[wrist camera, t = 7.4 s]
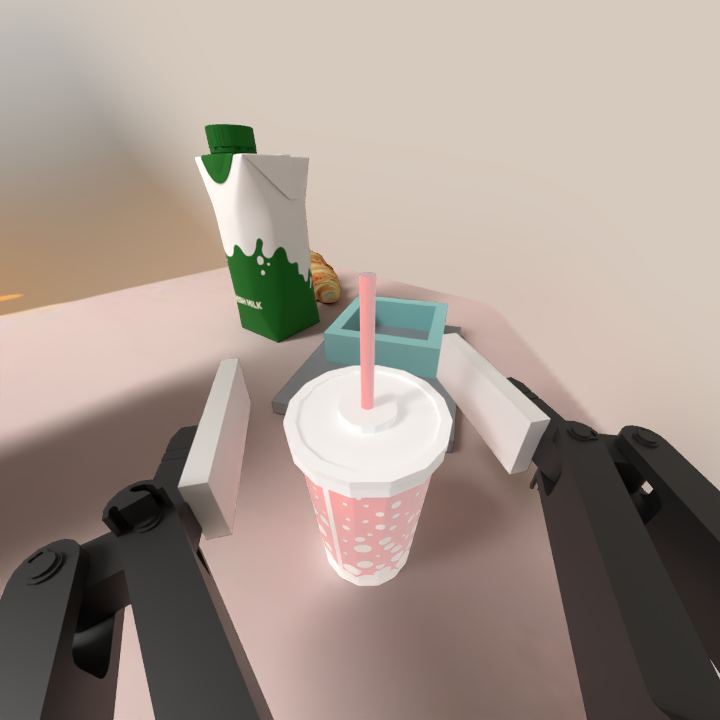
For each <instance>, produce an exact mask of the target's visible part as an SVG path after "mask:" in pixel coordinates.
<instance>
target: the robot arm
mask: <svg viewBox="0 0 720 720" xmlns="http://www.w3.org/2000/svg"><path fill="white" fill-rule="evenodd" d="M436 378H437V379H438V380H439V381H440V383H441V384H442V385H443V387H444V388H445V389H446V391H447V392H448V393H449V395H450V396H451V397H452V399H453V400H454V401H455V403H456V404H457V405H458V407H459V408H460V409H461V411H462V412H463V413H464V415H465V416H466V417H467V419H468V420H469V421H470V423H471V424H472V425H473V427H474V428H475V429H476V430H477V432H478V433H479V434H480V436H481V437H482V438H483V440H484V441H485V442H486V444H487V445H488V446H489V448H490V449H491V450H492V452H493V453H494V454H495V456H496V457H497V458H498V460H499V461H500V462H501V464H502V465H503V466H504V468H505V469H506V470H507V472H508V473H509V474H514V473H518V472H523V471H527V469H528V467H529V465H530V463H531V461H533V462H534V463H535V464H536V465H537V466H538V469H537V471H536V473H535V475H534V477H533V479H532V481H531V483H530V489H533V488H534V486H535V484H536V482H537V484H538V490H539V493H540V498H541V503H542V507H543V512H544V517H545V522H546V526H547V531H548V536H549V540H550V545H551V550H552V555H553V559H554V564H555V569H556V574H557V578H558V583H559V588H560V593H561V597H562V602H563V607H564V612H565V616H566V621H567V626H568V631H569V635H570V640H571V645H572V649H573V654H574V659H575V664H576V668H577V673H578V678H579V683H580V687H581V692H582V697H583V702H584V706H585V711H586V716H587V720H720V679H719V677H718V675H717V673H716V671H715V669H714V667H713V665H712V663H711V661H712V662H713V664H714V665H715V667H716V668H717V670H718V671H719V673H720V491H719V490H718V489H717V488H716V487H715V486H713V484H712V483H710V482H709V481H708V480H707V479H706V478H705V477H704V476H703V475H702V474H701V473H700V472H699V471H698V470H697V469H696V468H695V467H694V466H693V465H691V464H690V463H689V462H688V461H687V460H686V459H685V458H684V457H683V456H682V455H681V454H680V453H679V452H678V451H677V450H676V449H674V447H673V446H671V445H670V444H669V443H668V442H667V441H666V440H665V439H664V438H662V437H661V436H660V435H658V434H656V433H655V432H653V431H651V430H649V429H645V428H642V427H639V426H633V425H632V426H625V427H624V428H622V429H621V431H620V433H619V434H618V435H607V434H598V433H597V432H596V431H595V430H593V429H592V428H591V427H589V426H587V425H585V424H582V423H579V422H575V421H566V420H564V419H563V418H562V417H561V416H560V415H559V414H557V413H556V412H555V411H554V410H553V409H552V408H551V407H549V406H548V405H547V404H546V403H545V402H544V401H543V400H541V399H539V398H538V396H537V395H536V394H534V393H533V392H531V390H530V389H529V388H528V387H526V386H525V385H524V384H523V383H521V382H519V381H517V380H515V379H513V378H512V377H510V378H505V377H504V376H503V375H502V374H501V373H500V372H499V371H498V370H497V369H495V368H494V367H493V366H492V365H491V364H490V363H489V362H488V361H487V360H486V359H484V358H483V357H482V356H481V355H480V354H479V353H478V352H477V351H476V350H475V349H473V348H472V347H471V346H470V345H469V344H468V343H467V342H466V341H465V340H464V339H463V338H461V337H460V336H459V335H458V334H457V333H451V334H443V337H442V344H441V350H440V356H439V362H438V369H437V375H436ZM250 407H251V402H250V398H249V394H248V391H247V387H246V383H245V380H244V376H243V373H242V369H241V365H240V362H239V358H236V359H227V360H221V362H220V365H219V368H218V371H217V374H216V376H215V379H214V382H213V385H212V388H211V391H210V394H209V397H208V400H207V403H206V406H205V409H204V412H203V414H202V417H201V420H200V423H199V425H197V426H191V427H184V428H181V429H180V430H179V431H178V432H177V433H176V434H175V435H174V436H173V437H172V438H171V440H170V442H169V444H168V447H167V449H166V453H165V454H164V456H163V458H162V461H161V464H160V465H159V468H158V470H157V472H156V474H155V477H154V479H153V480H145V481H139V482H137V483H134V484H132V485H129V486H128V487H126V488H125V489H123V490H121V491H120V492H118V493H117V494H116V495H115V496H114V497H113V498H112V499H111V500H110V501H109V502H108V504H107V506H106V507H105V509H104V511H103V516H102V521H103V522H104V523H105V524H106V525H107V526H108V527H109V529H110V530H111V532H109V533H107V534H105V535H103V536H100V537H98V538H96V539H94V540H92V541H89V542H87V543H85V544H83V545H81V546H80V545H79V544H78V543H77V542H76V541H75V540H70V539H63V540H59V541H56V542H52V543H50V544H48V545H46V546H44V547H43V548H41V549H39V550H37V551H36V552H35V553H33V554H32V555H31V556H29V557H28V558H27V559H26V560H25V561H24V562H23V563H22V564H21V565H20V566H19V567H18V568H17V569H16V570H15V571H14V573H13V574H12V576H11V578H10V579H9V581H8V583H7V585H6V587H5V590H4V592H3V595H2V597H1V600H0V720H113V718H114V709H115V699H116V689H117V679H118V670H119V660H120V650H121V641H122V631H123V621H124V611H125V607H126V606H128V605H130V604H131V605H132V610H133V615H134V620H135V624H136V629H137V634H138V639H139V644H140V648H141V653H142V658H143V663H144V668H145V672H146V677H147V682H148V687H149V691H150V696H151V701H152V706H153V711H154V715H155V720H274V719H273V717H272V714H271V712H270V710H269V707H268V705H267V703H266V700H265V698H264V695H263V693H262V691H261V688H260V686H259V684H258V681H257V679H256V677H255V674H254V672H253V670H252V667H251V665H250V663H249V660H248V658H247V656H246V653H245V651H244V649H243V646H242V644H241V642H240V639H239V637H238V635H237V632H236V630H235V628H234V625H233V623H232V621H231V618H230V616H229V614H228V611H227V609H226V607H225V604H224V602H223V600H222V597H221V595H220V593H219V590H218V588H217V586H216V583H215V581H214V579H213V576H212V574H211V571H210V569H209V567H208V564H207V562H206V560H205V557H204V555H203V553H202V550H201V549H200V547H199V542H200V537H201V533H202V532H203V534H204V536H205V537H206V539H207V540H209V539H214V538H218V537H223V536H227V535H232V531H233V524H234V517H235V510H236V504H237V497H238V490H239V483H240V476H241V469H242V462H243V455H244V449H245V442H246V435H247V428H248V421H249V414H250ZM645 481H647V482H648V483H649V484H650V485H651V486H652V488H653V490H652V491H651V493H649V494H648V493H647V492H645V491H644V489H643V488H642V487H641V486H642V485H643V484H644V483H645ZM710 660H711V661H710Z"/></svg>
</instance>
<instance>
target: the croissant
mask: <svg viewBox="0 0 720 720" xmlns="http://www.w3.org/2000/svg"><path fill="white" fill-rule="evenodd" d="M310 261H311V271H312V280H313V287H314V292H315V298H316V300H320V301H321V302H323V303H332V302H335V301H337V300H338V299H339V298H340V294H341V288H340V285H339V280H338V277H337V275H336V273H335V272H334V271H333V268H332V267H331V266H330V265H328V264H327V263H326V262H325V260H324V259H323V257H322V256H321V255H320V254H318V253H315V252H313V251H311V250H310Z"/></svg>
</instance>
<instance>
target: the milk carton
mask: <svg viewBox="0 0 720 720" xmlns="http://www.w3.org/2000/svg"><path fill="white" fill-rule="evenodd" d="M205 131H206V135H207V140H208V144H209V148H210V152H211V154H208V155H202V156H201V157H196V158H195V160H196V163H197V165H198V168H199V170H200V173H201V175H202V178H203V180H204V183H205V186H206V188H207V191H208V193H209V196H210V198H211V201H212V204H213V206H214V210H215V213H216V217H217V221H218V225H219V229H220V233H221V237H222V241H223V245H224V249H225V253H226V257H227V261H228V266H229V270H230V274H231V278H232V282H233V286H234V290H235V294H236V299H237V304H238V309H239V314H240V319H241V324H242V327H243V328H246V329H248V330H250V331H253V332H255V333H257V334H260V335H262V336H264V337H267V338H269V339H272V340H274V341H276V342H280V341H282V340H284V339H286V338H288V337H290V336H292V335H294V334H296V333H298V332H300V331H302V330H304V329H305V328H307V327H309V326H311V325H313V324H315V323H317V322H319V321H320V319H319V314H318V309H317V303H316V298H315V292H314V287H313V280H312V271H311V261H310V250H309V241H308V230H307V220H306V209H305V197H306V185H307V174H308V163H309V158H306V157H291V156H290V155H288V154H276V155H275V154H273V155H272V154H257V152H256V145H255V139H254V133H253V129H252V128H251V127H248V126H242V125H228V124H216V125H208V126H205Z"/></svg>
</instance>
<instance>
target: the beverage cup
mask: <svg viewBox="0 0 720 720" xmlns="http://www.w3.org/2000/svg"><path fill="white" fill-rule="evenodd" d="M359 291H360V365H361V366H349V367H345V368H341V369H336V370H332V371H328V372H326V373H324V374H322V375H320V376H319V377H317V378H315V379H313V380H311V381H309V382H307V383H306V384H305V385H304V386H303V387H302V388H301V389H300V390H299V391H298V392H297V393H296V394H295V395H294V397H293V398H292V399H291V400H290V401H289V405H288V408H287V411H286V415H285V418H284V421H283V425H284V429H285V433H286V437H287V440H288V444H289V448H290V451H291V454H292V458H293V461H294V463H295V464H296V465H297V466H298V467H299V468H300V469H301V470H302V472H303V473H304V475H305V479H306V482H307V486H308V489H309V493H310V496H311V500H312V503H313V507H314V511H315V514H316V518H317V521H318V525H319V528H320V532H321V535H322V539H323V542H324V546H325V549H326V553H327V556H328V560H329V563H330V564H331V565H332V567H333V568H334V569H335V570H336V571H337V573H338V574H339V575H340V576H341V577H342V578H343V579H346V580H348V581H350V582H352V583H354V584H356V585H358V586H378V585H380V584H382V583H384V582H386V581H388V580H390V579H392V578H394V577H395V576H396V575H397V573H398V572H399V571H400V569H401V568H402V567H403V566H404V564H405V563H406V561H407V557H408V554H409V551H410V547H411V544H412V540H413V537H414V533H415V530H416V527H417V523H418V520H419V516H420V513H421V509H422V506H423V503H424V499H425V496H426V492H427V489H428V486H429V482H430V479H431V475H432V473H433V472H434V471H435V470H436V469H437V468H438V467H439V465H440V464H441V463H442V462H443V461H444V456H445V452H446V451H447V447H448V442H449V437H450V432H451V427H452V422H453V420H452V417H451V415H450V412H449V410H448V407H447V404H446V402H445V399H444V398H443V397H442V396H441V395H440V394H439V393H438V392H437V391H436V390H435V389H434V388H433V387H432V386H431V385H430V384H429V383H428V382H426V381H424V380H422V379H420V378H418V377H416V376H414V375H412V374H410V373H408V372H406V371H403V370H399V369H394V368H389V367H385V366H380V365H374V362H375V303H376V274H375V273H372V272H363V273H360V274H359Z"/></svg>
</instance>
